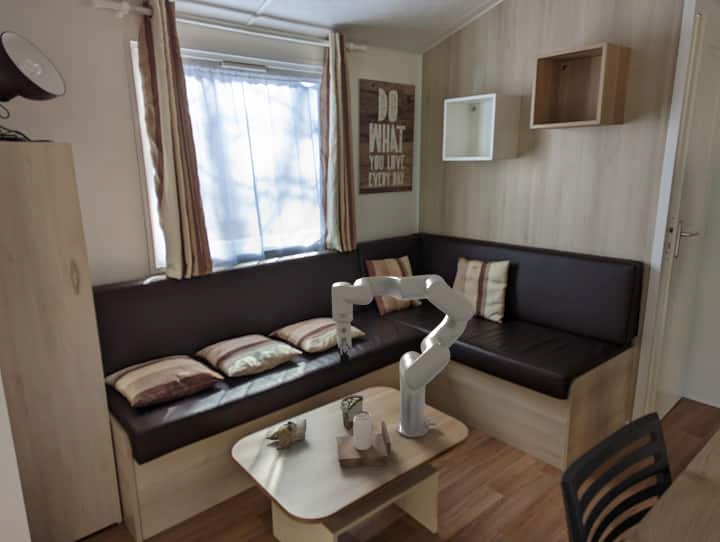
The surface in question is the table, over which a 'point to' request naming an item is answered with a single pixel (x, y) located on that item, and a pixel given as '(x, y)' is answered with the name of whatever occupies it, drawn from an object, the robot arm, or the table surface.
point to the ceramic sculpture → (289, 433)
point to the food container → (351, 409)
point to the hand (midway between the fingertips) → (343, 358)
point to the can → (362, 430)
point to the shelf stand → (372, 456)
